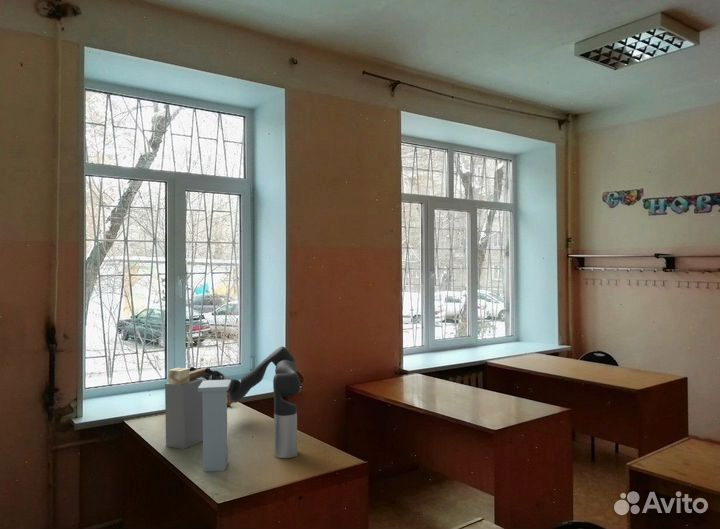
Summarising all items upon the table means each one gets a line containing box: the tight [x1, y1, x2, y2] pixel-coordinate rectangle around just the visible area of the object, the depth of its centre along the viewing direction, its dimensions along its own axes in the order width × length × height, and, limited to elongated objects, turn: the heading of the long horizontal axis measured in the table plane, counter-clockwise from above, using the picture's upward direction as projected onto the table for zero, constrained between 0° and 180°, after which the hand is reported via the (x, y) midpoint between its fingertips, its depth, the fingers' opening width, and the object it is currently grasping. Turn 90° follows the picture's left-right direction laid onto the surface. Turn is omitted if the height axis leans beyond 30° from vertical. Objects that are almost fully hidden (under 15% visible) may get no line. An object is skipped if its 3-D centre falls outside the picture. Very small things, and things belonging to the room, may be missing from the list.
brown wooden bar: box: [168, 366, 211, 385], centre depth 235 cm, size 6×22×6 cm, turn 158°
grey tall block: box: [164, 378, 203, 450], centre depth 230 cm, size 12×10×27 cm
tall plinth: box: [198, 379, 231, 472], centre depth 205 cm, size 11×12×32 cm
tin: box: [227, 393, 233, 407], centre depth 290 cm, size 15×3×8 cm, turn 47°
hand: (197, 369), depth 239 cm, fingers open, 8 cm apart
